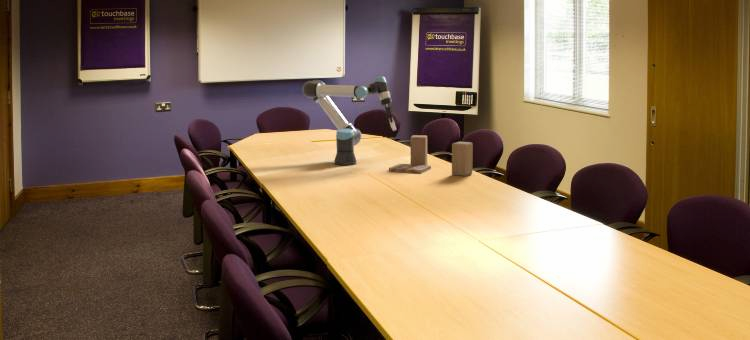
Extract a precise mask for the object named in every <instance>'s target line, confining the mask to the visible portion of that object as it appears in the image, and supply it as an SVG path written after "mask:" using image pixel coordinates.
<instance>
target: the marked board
mask: <svg viewBox="0 0 750 340" xmlns="http://www.w3.org/2000/svg"><path fill="white" fill-rule="evenodd" d="M431 169H432V166H431V165H428V164H427V165H413V164H411V163H398V164H395V165H393V166H391V167H389V168H388V172H395V173H396V172H397V173H408V174H409V173H410V174H411V173H412V174H423V173H425V172H427V171H429V170H431Z"/></svg>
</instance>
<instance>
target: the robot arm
mask: <svg viewBox="0 0 750 340" xmlns="http://www.w3.org/2000/svg"><path fill="white" fill-rule="evenodd" d="M387 82H388V81H387V80H386V77H385V76H378V77H375V78H374V82H372V83H368V84H366V85H344V84H343V85H336V84H326V83H324V82H323V81H322V80H319V79H314V80H308V81H306V82H304V84H303V85H302V89H301V90H302V93H303V95H304V96H305V97H306V98H308V99H312V100H313V102H314V103H317V104H319V106H320V107H321V109H322V110H323V111H324V113H325V114H326V115H327V117H328V118H329V119H330V120H331V122H332V123H333V125H334V126H335V127H336V129H337V130H336V135H335V138H336V139H335V140H336V154H335V157H334V160H333V162H334V165H335V166H353V165H356V164H357V157H356V156H355V146H356V145H358V144H359V143H360V142H361V140H362V132H361V131H360V129H359V128H356V127H355V126H354V125H353V123H351V122H349V121H348V120H347V119H346V118H345V116H344V115H343V113H342V112H341V111H340V110H339V108H338V107H337V105H336V104H335V103H334V101H333V100H332V98H330V97H341V98H343V97H345V98H347V97H349V98H350V97H351V98H360V99H363V98H368V97H371V96H373V95H375V94H378V98H379V100H380V104H381V105H380V106H381V107H384V109H385V112H386V114H387V117H386V118H387V119H388V121H389V125H390V129H392V131H393V132H395V131H397V130H398V129H397V126H396V122H395V121H396V120H395V119H394V116H393V111H392V107H391V105H393V100H392V98H391V93H392V92H390V90H389V86H388V83H387Z"/></svg>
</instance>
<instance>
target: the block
mask: <svg viewBox="0 0 750 340" xmlns="http://www.w3.org/2000/svg"><path fill="white" fill-rule="evenodd" d="M473 145H474V144H473V142H471V141H457V142H453V143H452V144H451V175H453V176H458V175H459V177H466V176H469V175H473V160H474V159H473V156H474V155H473V150H474V149H473Z"/></svg>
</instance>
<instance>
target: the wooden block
mask: <svg viewBox="0 0 750 340" xmlns="http://www.w3.org/2000/svg"><path fill="white" fill-rule="evenodd" d="M410 164H413V165H428V135H422V134H421V135H418V134H415V135H414V134H413V135H411V136H410Z"/></svg>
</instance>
